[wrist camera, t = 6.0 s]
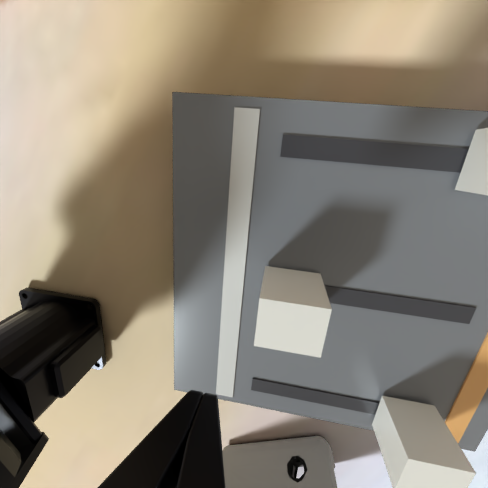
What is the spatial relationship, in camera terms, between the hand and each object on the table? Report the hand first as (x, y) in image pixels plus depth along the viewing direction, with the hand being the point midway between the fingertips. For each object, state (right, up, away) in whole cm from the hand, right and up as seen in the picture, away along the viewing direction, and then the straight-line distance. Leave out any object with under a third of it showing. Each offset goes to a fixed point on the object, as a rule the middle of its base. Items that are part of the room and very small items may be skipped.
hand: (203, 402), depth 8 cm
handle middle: (+4, +2, +7) cm, 8 cm away
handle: (+11, -6, +8) cm, 15 cm away
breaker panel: (+7, +2, +8) cm, 11 cm away
